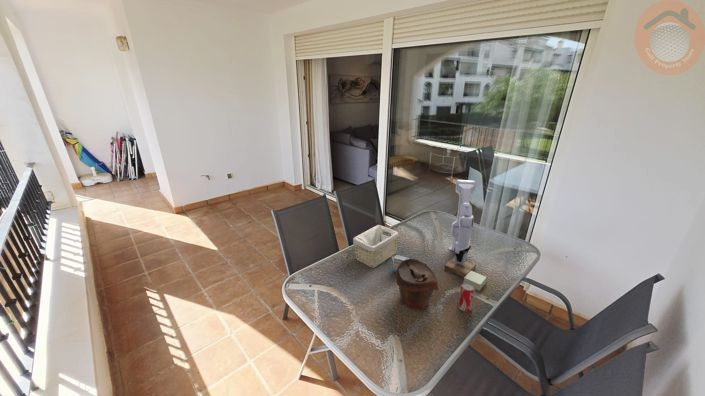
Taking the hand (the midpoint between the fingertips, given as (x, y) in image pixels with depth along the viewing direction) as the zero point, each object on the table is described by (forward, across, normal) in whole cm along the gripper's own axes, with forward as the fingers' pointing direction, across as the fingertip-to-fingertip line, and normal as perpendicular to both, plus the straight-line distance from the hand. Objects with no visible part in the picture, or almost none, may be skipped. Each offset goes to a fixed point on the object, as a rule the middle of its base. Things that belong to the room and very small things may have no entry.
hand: (461, 259), depth 152 cm
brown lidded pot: (+6, +38, -4) cm, 39 cm away
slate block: (+2, 0, 0) cm, 2 cm away
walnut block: (+6, 0, 0) cm, 6 cm away
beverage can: (+6, +27, +15) cm, 31 cm away
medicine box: (+6, +24, -22) cm, 33 cm away
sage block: (+6, +7, +11) cm, 14 cm away
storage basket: (+6, +22, -42) cm, 48 cm away
